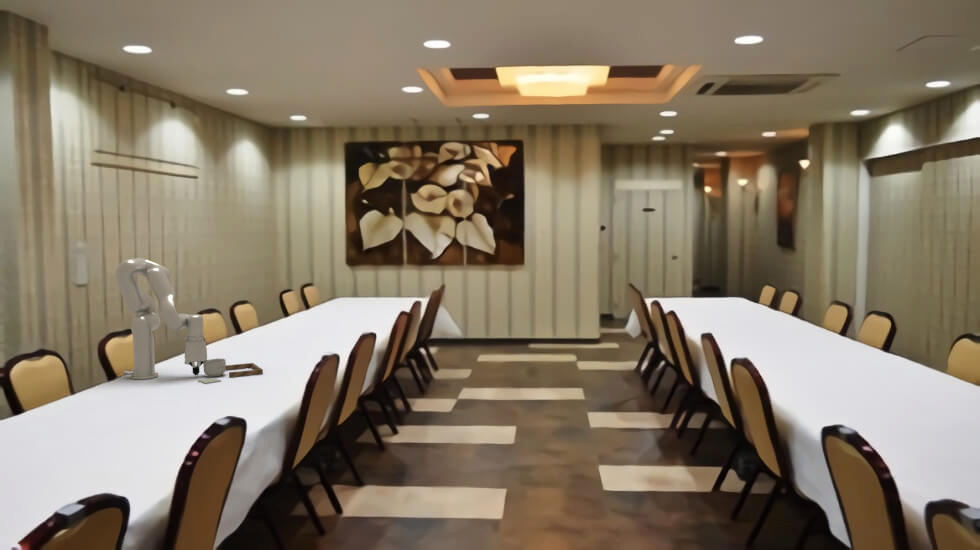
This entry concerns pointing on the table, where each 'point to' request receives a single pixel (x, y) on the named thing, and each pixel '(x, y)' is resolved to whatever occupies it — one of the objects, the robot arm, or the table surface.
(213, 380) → the coaster
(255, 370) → the bay
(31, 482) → the table surface
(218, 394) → the table surface
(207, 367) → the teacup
